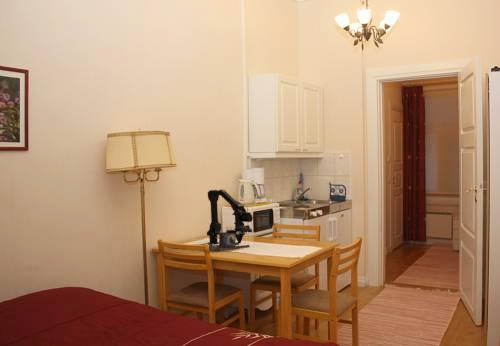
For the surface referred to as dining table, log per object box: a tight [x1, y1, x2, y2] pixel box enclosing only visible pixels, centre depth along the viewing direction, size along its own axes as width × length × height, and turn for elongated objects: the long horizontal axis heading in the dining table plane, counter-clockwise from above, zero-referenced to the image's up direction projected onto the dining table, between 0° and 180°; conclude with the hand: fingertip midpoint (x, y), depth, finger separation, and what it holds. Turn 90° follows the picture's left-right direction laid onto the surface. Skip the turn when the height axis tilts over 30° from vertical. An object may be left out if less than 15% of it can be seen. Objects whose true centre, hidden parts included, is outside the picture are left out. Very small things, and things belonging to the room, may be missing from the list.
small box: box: [218, 231, 236, 249], centre depth 329 cm, size 11×6×10 cm, turn 107°
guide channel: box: [207, 241, 250, 253], centre depth 330 cm, size 15×27×3 cm, turn 124°
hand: (239, 243), depth 335 cm, fingers closed
